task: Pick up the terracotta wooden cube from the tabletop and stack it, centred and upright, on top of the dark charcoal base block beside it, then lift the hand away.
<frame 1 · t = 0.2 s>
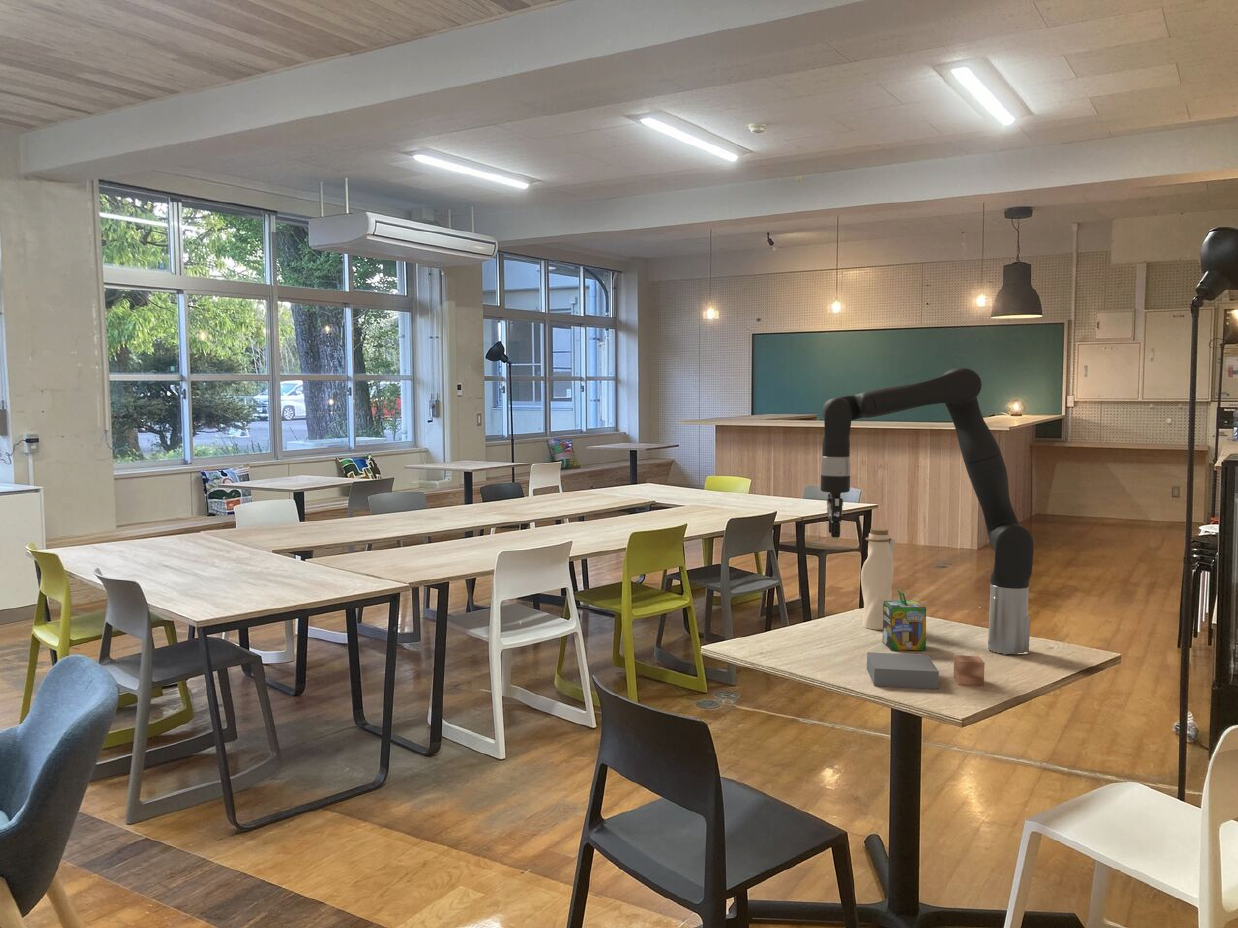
hand: (834, 535, 249), 29 cm above the table, tool pointing down, fingers open, 8 cm apart
terracotta cube: (968, 682, 218), on the table
water bottle: (877, 626, 271), on the table
charcoal base: (901, 678, 220), on the table
chalk box: (903, 647, 249), on the table
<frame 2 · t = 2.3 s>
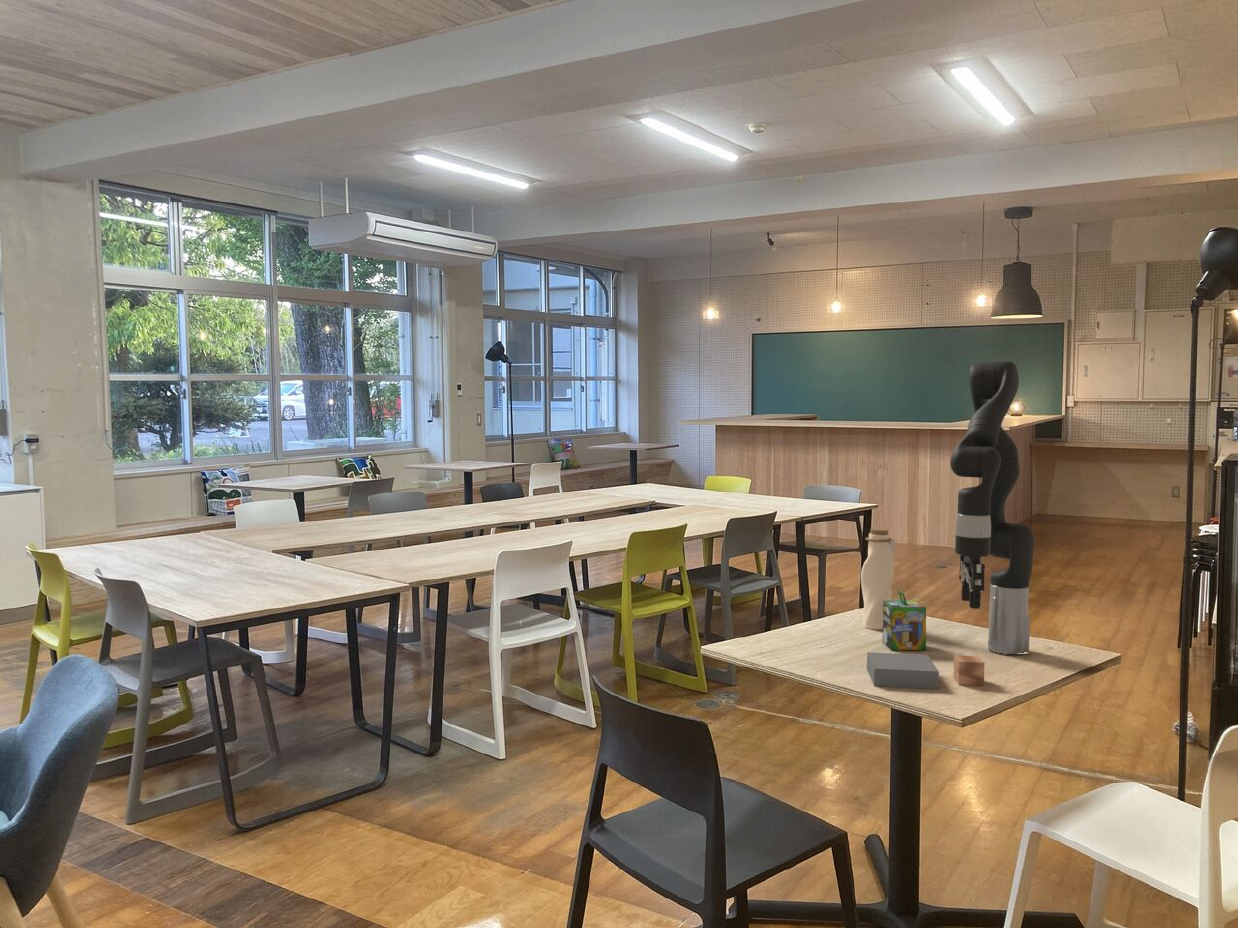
hand: (970, 604, 216), 18 cm above the table, tool pointing down, fingers open, 8 cm apart
nothing on the table moved.
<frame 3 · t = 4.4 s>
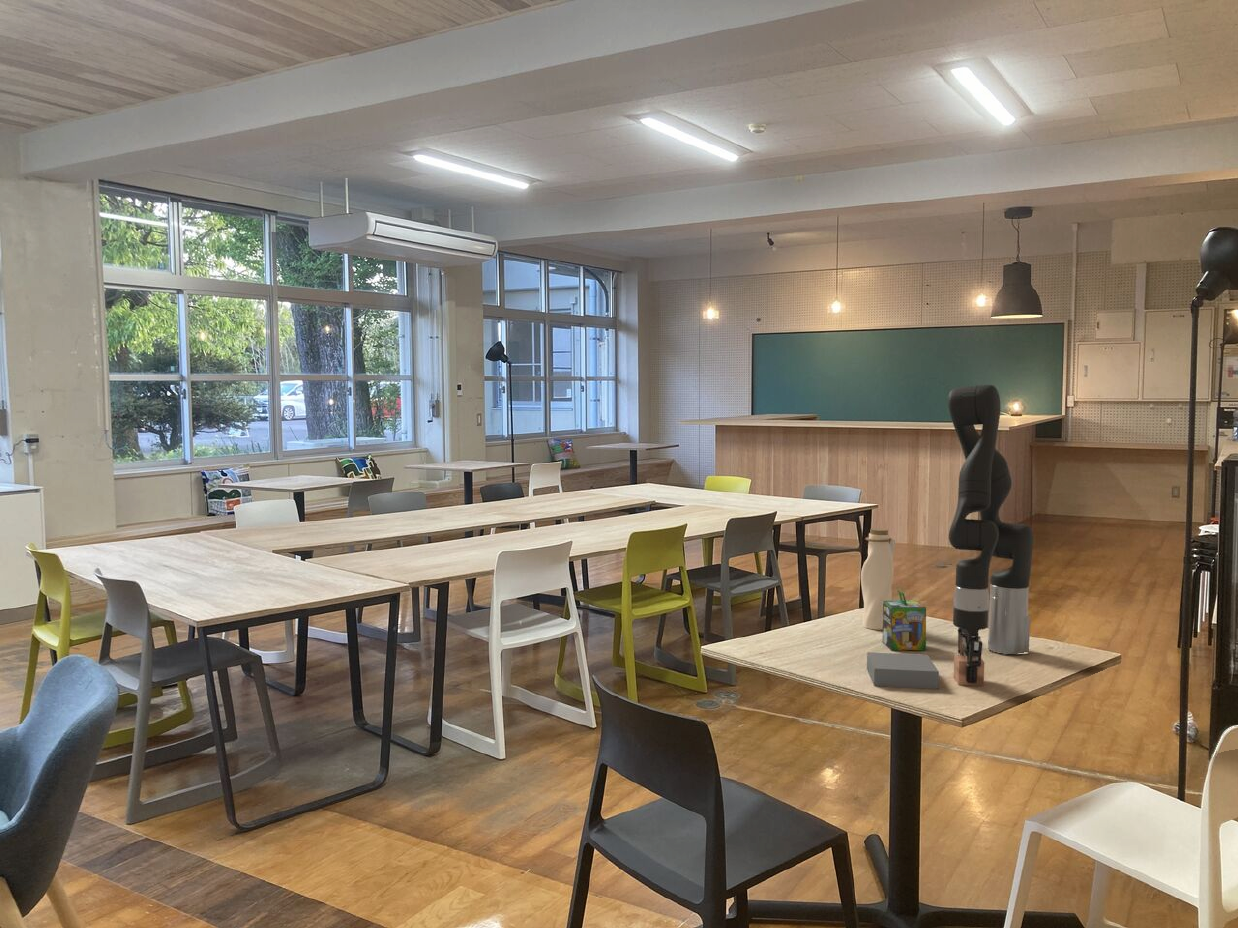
hand: (968, 678, 218), 1 cm above the table, tool pointing down, fingers closed on terracotta cube, 5 cm apart
terracotta cube: (968, 681, 218), on the table, touching gripper
everything else where it was.
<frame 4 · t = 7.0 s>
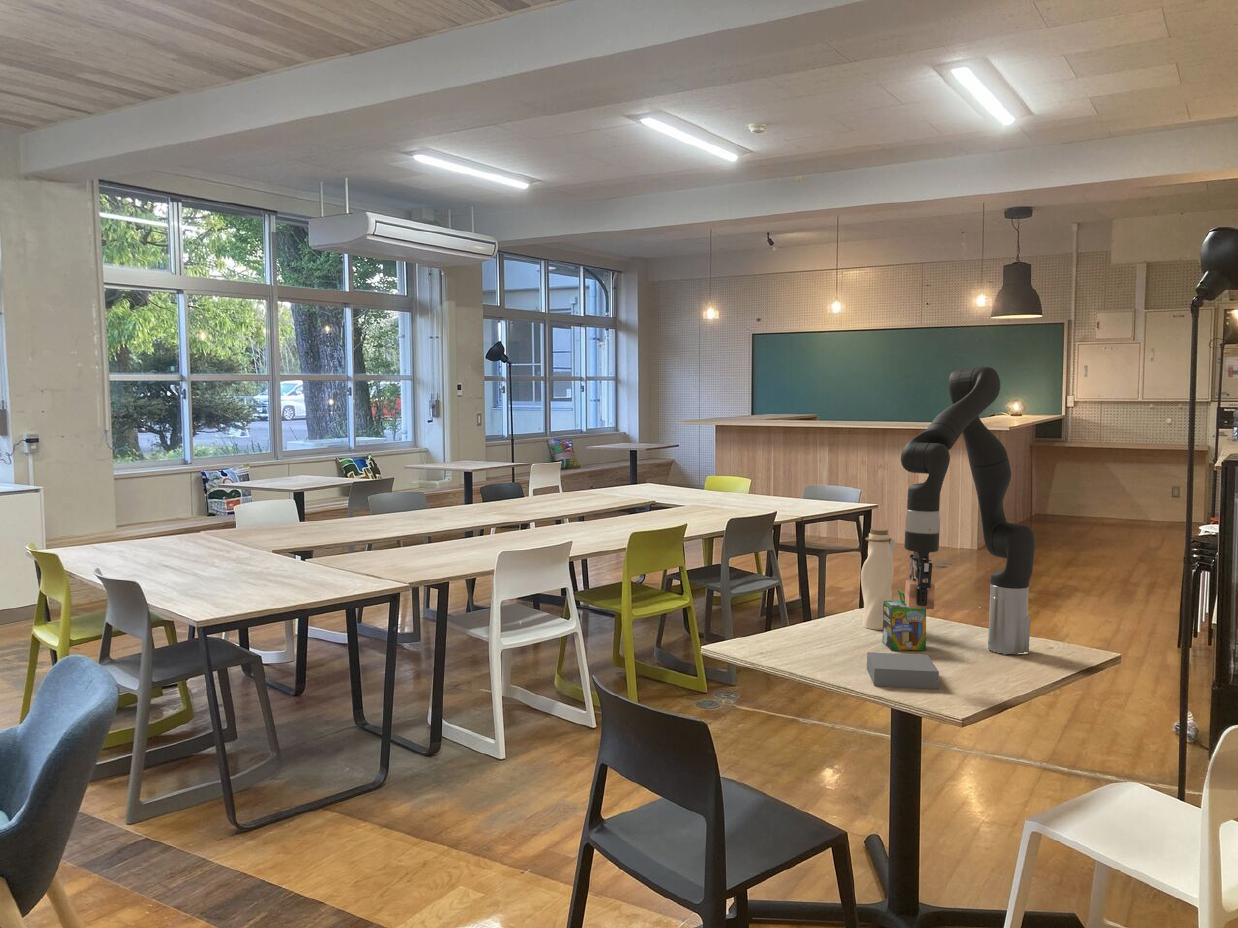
hand: (919, 602, 217), 18 cm above the table, tool pointing down, fingers closed on terracotta cube, 5 cm apart
terracotta cube: (919, 606, 217), point 17 cm above the table, touching gripper
everything else where it was.
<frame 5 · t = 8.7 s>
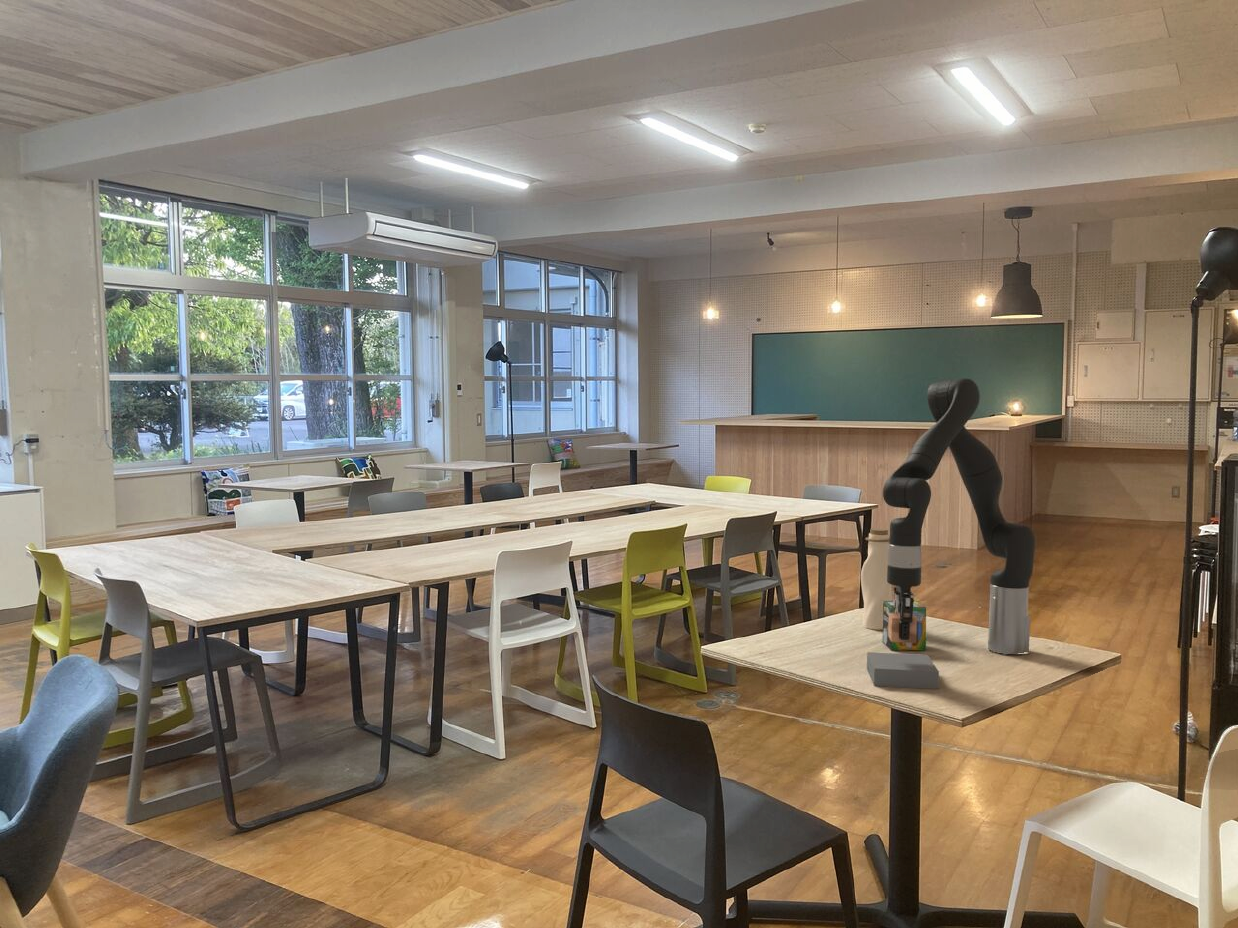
hand: (902, 635, 219), 10 cm above the table, tool pointing down, fingers closed on terracotta cube, 5 cm apart
terracotta cube: (901, 639, 219), point 9 cm above the table, touching gripper
everything else where it was.
when the fingers open (6 cm above the table, at t = 9.9 s): terracotta cube drops 1 cm, resting on charcoal base.
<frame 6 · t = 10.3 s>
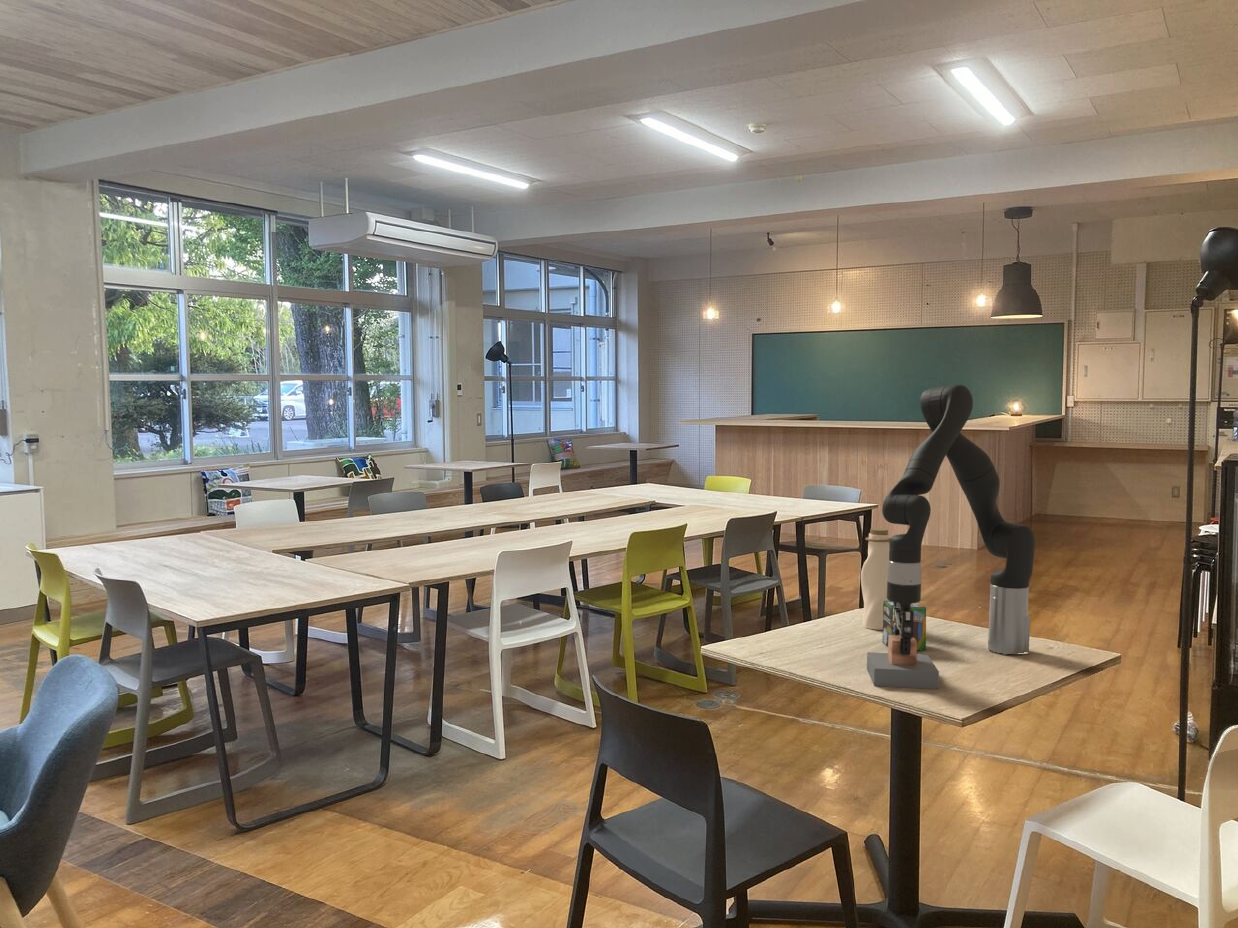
hand: (902, 649, 219), 7 cm above the table, tool pointing down, fingers open, 8 cm apart
terracotta cube: (901, 661, 219), point 4 cm above the table, touching charcoal base
everything else where it was.
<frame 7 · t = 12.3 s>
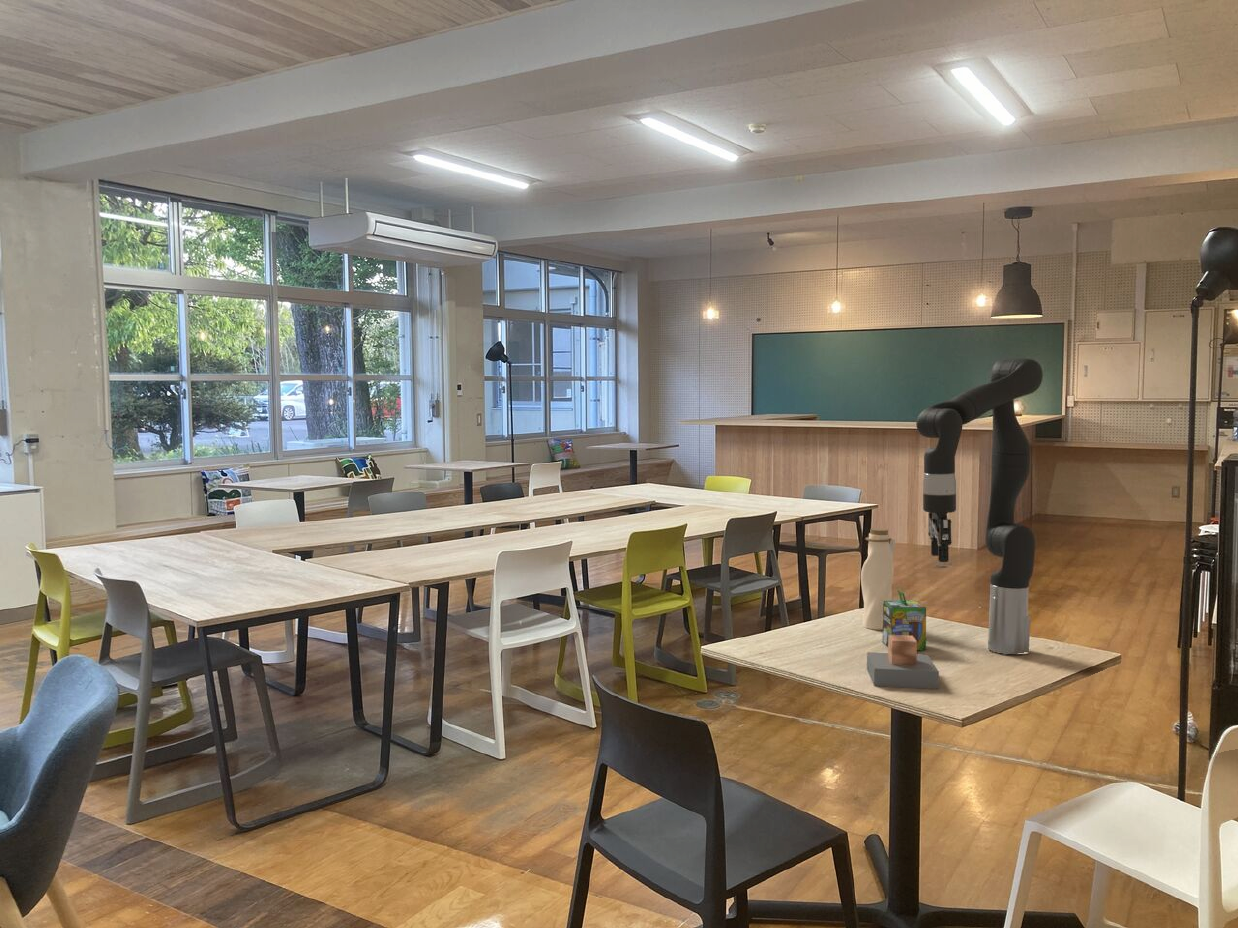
hand: (939, 558, 228), 26 cm above the table, tool pointing down, fingers open, 8 cm apart
nothing on the table moved.
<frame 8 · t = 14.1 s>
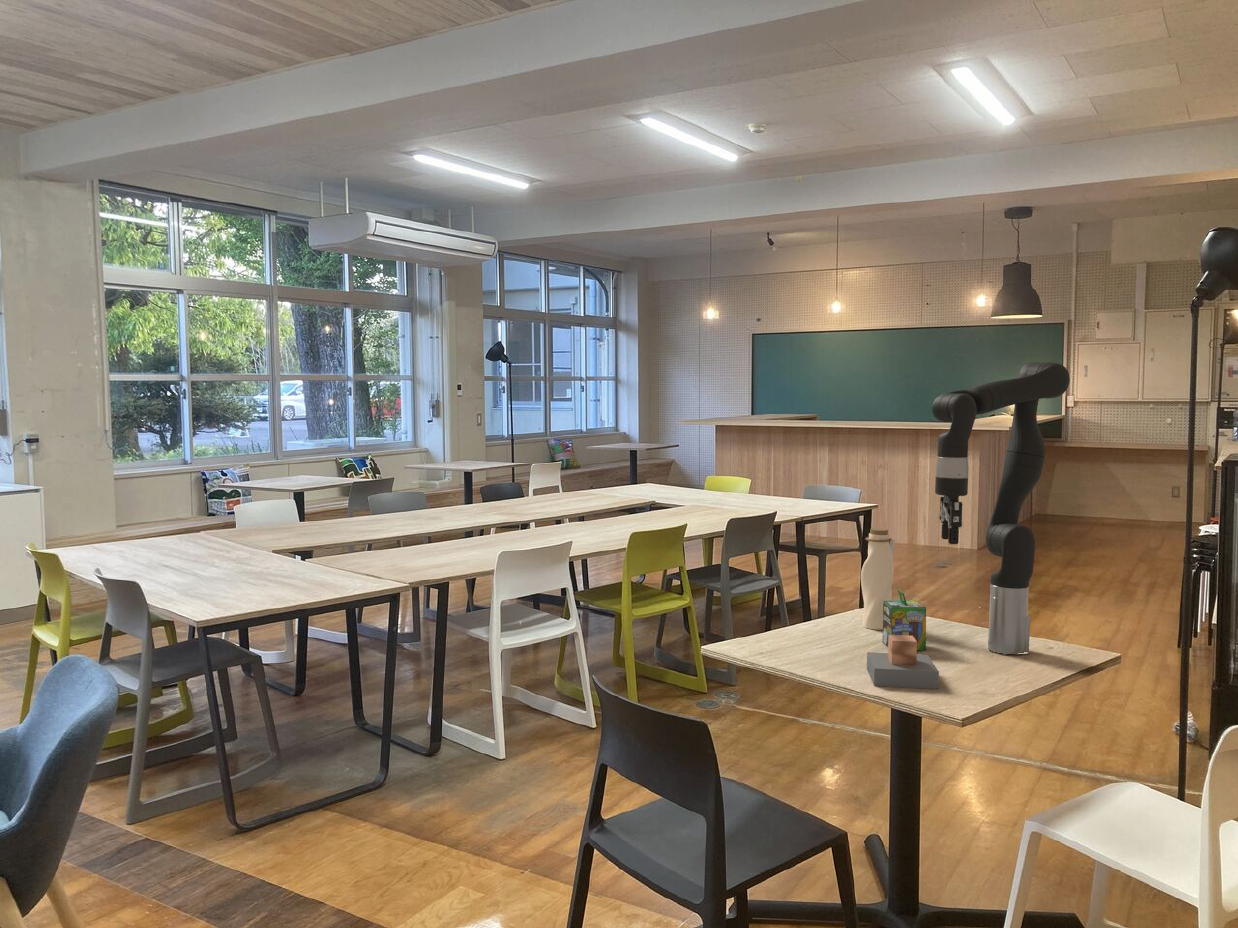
hand: (949, 541, 232), 30 cm above the table, tool pointing down, fingers open, 8 cm apart
nothing on the table moved.
at the end: terracotta cube inside the target area on the charcoal base (0.0 cm from its centre), point 4.0 cm above the charcoal base's base; terracotta cube tilted 0°; terracotta cube touching charcoal base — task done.
